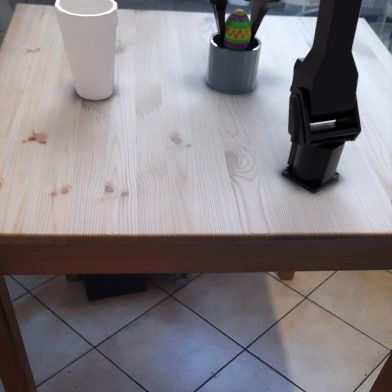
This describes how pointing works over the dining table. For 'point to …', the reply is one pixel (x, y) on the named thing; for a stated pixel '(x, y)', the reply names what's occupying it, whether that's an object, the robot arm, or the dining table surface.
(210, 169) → the dining table surface
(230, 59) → the cup
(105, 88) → the foam cup
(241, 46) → the egg
